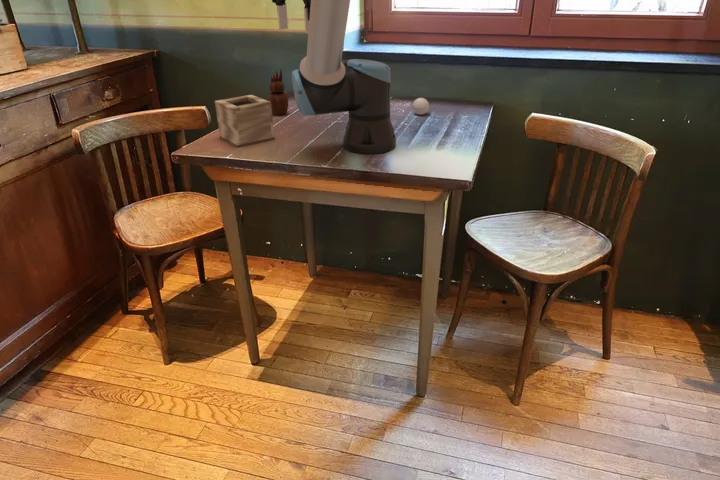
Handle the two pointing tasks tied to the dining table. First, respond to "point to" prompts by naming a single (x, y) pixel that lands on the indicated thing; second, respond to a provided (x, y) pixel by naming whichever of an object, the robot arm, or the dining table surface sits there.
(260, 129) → the drop box
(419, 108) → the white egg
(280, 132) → the dining table surface
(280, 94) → the wooden figurine
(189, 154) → the dining table surface
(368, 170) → the dining table surface
